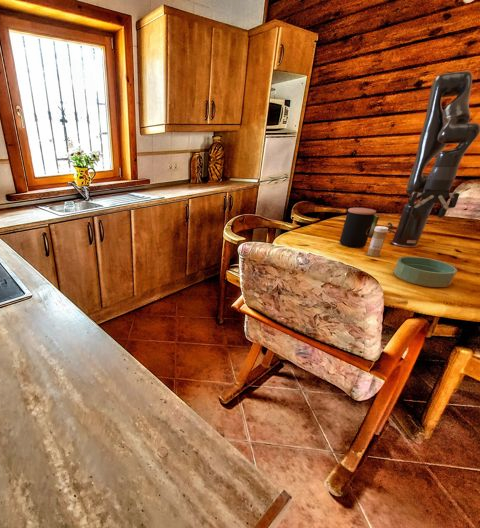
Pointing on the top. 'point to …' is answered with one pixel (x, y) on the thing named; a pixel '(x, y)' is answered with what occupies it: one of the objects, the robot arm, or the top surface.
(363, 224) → the coffee jar
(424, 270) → the shallow teal bowl
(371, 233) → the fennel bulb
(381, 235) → the sprinkles bottle
